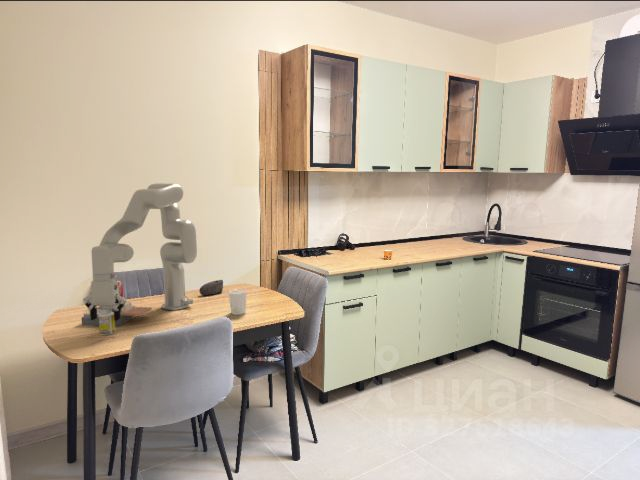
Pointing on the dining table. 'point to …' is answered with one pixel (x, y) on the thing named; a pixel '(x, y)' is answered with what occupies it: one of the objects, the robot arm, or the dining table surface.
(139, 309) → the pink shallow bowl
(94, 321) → the socket block
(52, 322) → the dining table surface
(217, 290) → the perforated stone tool
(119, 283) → the soda can
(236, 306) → the white cup
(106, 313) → the supplement bottle
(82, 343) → the dining table surface
